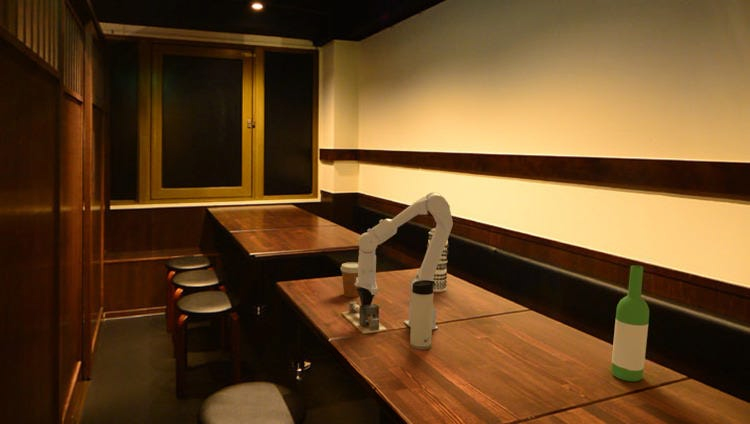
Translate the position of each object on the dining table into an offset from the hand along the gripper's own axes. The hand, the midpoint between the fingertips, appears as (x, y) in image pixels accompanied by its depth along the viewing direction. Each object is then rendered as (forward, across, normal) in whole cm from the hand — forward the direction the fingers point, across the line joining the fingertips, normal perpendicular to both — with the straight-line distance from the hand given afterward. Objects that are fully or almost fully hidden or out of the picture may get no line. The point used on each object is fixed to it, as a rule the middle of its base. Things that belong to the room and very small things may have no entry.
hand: (366, 309), depth 175 cm
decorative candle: (+5, -29, +43) cm, 53 cm away
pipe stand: (+5, -2, 0) cm, 5 cm away
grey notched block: (+5, +3, 0) cm, 6 cm away
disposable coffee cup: (+5, -32, +7) cm, 33 cm away
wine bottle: (+5, +60, +51) cm, 78 cm away
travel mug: (+5, +23, +8) cm, 25 cm away
